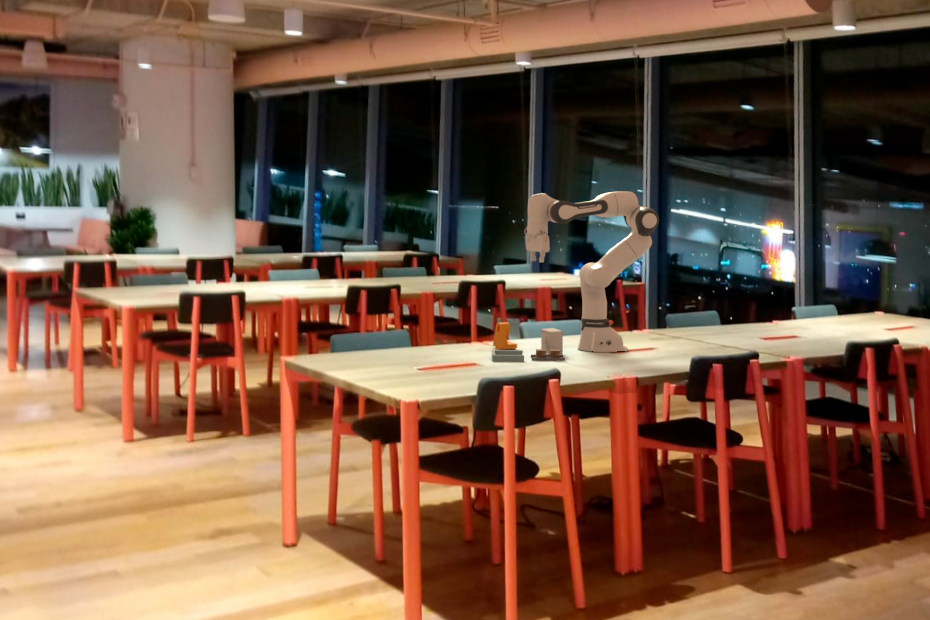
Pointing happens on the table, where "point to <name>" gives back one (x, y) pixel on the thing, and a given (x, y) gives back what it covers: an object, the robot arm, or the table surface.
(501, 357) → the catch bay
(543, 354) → the chip
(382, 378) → the table surface
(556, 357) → the slot rails
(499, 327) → the bracket
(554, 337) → the skincare box
